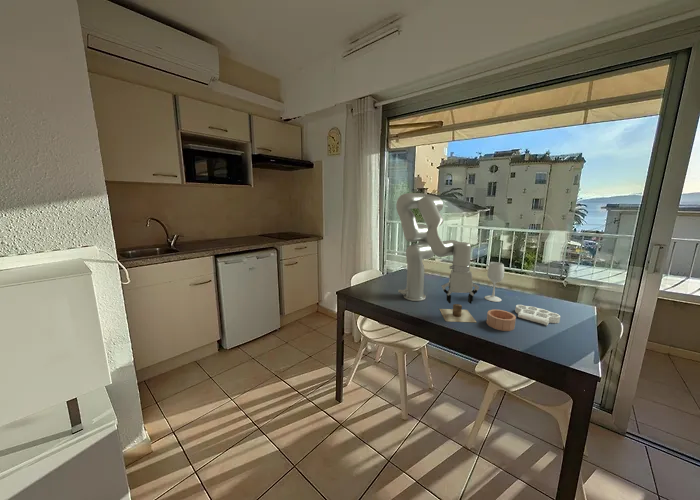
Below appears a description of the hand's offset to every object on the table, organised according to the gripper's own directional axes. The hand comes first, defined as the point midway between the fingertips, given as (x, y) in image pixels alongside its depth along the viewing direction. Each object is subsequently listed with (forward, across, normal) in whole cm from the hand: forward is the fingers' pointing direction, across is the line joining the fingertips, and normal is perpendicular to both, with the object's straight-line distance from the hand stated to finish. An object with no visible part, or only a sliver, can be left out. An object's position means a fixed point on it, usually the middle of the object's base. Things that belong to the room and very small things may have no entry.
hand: (459, 302), depth 129 cm
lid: (+8, -1, +1) cm, 8 cm away
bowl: (+8, +16, -7) cm, 19 cm away
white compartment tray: (+8, +36, +3) cm, 38 cm away
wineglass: (+7, +25, +25) cm, 36 cm away
